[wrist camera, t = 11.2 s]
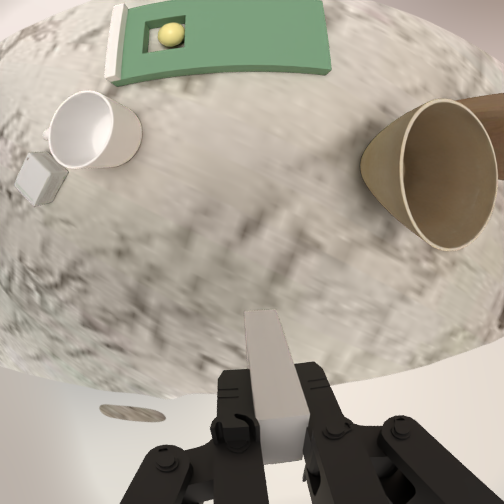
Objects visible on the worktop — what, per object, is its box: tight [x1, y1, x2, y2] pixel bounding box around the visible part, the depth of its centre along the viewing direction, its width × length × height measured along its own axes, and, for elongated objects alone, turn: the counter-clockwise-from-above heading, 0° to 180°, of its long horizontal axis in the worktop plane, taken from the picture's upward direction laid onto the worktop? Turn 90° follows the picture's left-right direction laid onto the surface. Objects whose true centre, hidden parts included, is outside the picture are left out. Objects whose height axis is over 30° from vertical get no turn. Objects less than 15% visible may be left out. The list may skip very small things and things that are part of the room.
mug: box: [43, 90, 142, 169], centre depth 27 cm, size 12×8×10 cm
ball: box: [158, 23, 185, 47], centre depth 27 cm, size 4×4×4 cm
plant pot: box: [360, 99, 498, 251], centre depth 28 cm, size 15×15×16 cm
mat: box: [104, 0, 332, 87], centre depth 27 cm, size 28×12×4 cm, turn 92°
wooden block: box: [456, 93, 504, 180], centre depth 25 cm, size 10×10×20 cm
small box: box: [14, 152, 68, 207], centre depth 30 cm, size 6×6×5 cm
